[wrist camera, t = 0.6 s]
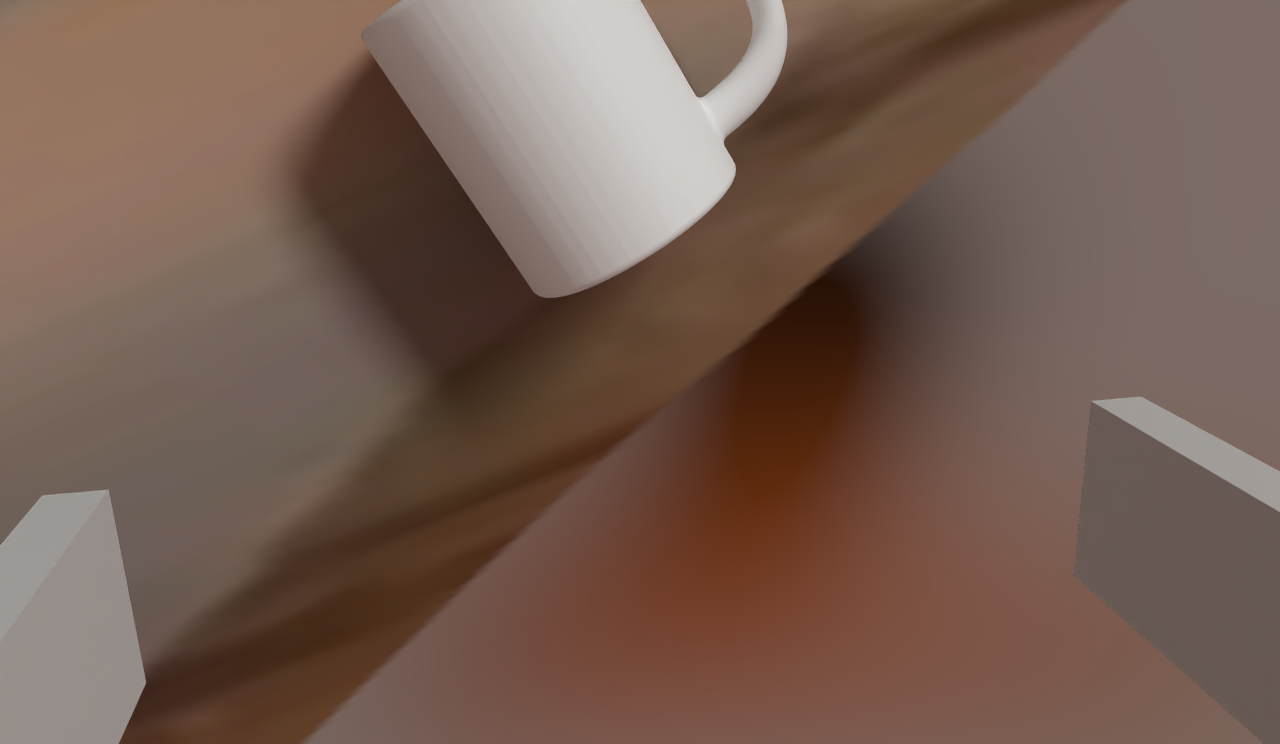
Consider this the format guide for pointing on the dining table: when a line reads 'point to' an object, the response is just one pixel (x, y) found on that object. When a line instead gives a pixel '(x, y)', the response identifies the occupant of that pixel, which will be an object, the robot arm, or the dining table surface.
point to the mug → (572, 123)
